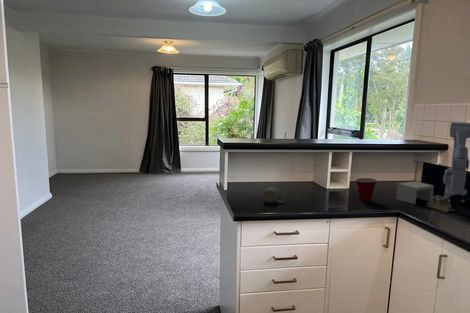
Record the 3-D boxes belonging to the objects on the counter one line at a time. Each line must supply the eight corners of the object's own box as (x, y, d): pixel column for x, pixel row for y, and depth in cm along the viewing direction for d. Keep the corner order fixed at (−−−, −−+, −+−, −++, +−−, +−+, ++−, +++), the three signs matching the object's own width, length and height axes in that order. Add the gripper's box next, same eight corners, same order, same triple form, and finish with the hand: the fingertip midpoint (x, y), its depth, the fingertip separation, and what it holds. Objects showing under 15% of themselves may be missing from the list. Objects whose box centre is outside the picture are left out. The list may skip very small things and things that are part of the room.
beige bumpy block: (436, 205, 171) (437, 195, 171) (456, 210, 162) (457, 200, 162) (426, 206, 168) (428, 196, 167) (446, 212, 159) (447, 201, 158)
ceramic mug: (262, 203, 168) (263, 188, 166) (265, 198, 175) (266, 185, 174) (282, 205, 165) (283, 191, 164) (284, 201, 172) (285, 187, 171)
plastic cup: (357, 196, 184) (359, 176, 183) (377, 200, 178) (379, 179, 176) (351, 200, 176) (352, 179, 174) (371, 204, 169) (373, 182, 168)
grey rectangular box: (413, 196, 187) (415, 181, 186) (431, 201, 177) (433, 185, 176) (395, 198, 181) (397, 183, 179) (414, 204, 171) (415, 188, 169)
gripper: (457, 185, 151) (453, 213, 153) (475, 183, 157) (471, 209, 159) (442, 182, 157) (439, 209, 159) (460, 180, 163) (456, 205, 165)
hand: (454, 209), depth 159 cm, fingers closed
